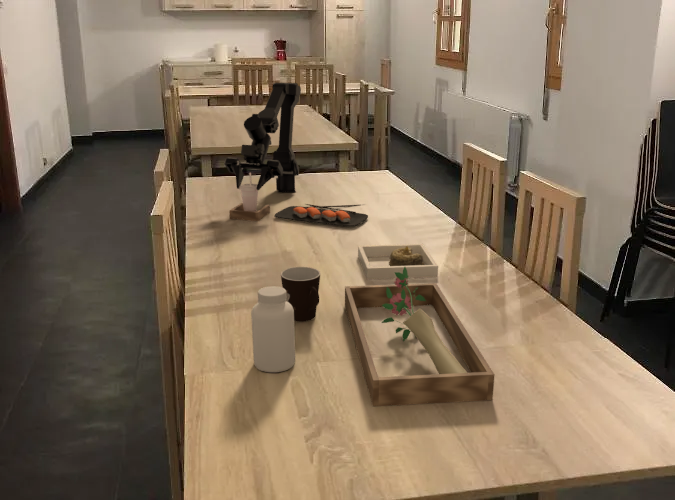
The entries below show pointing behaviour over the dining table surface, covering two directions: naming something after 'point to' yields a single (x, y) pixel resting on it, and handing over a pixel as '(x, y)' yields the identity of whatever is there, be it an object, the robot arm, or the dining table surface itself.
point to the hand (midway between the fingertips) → (247, 189)
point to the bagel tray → (388, 271)
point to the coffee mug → (302, 291)
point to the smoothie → (249, 196)
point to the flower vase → (420, 327)
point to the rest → (248, 213)
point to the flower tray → (419, 386)
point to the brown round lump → (405, 258)
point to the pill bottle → (273, 331)
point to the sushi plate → (323, 215)
